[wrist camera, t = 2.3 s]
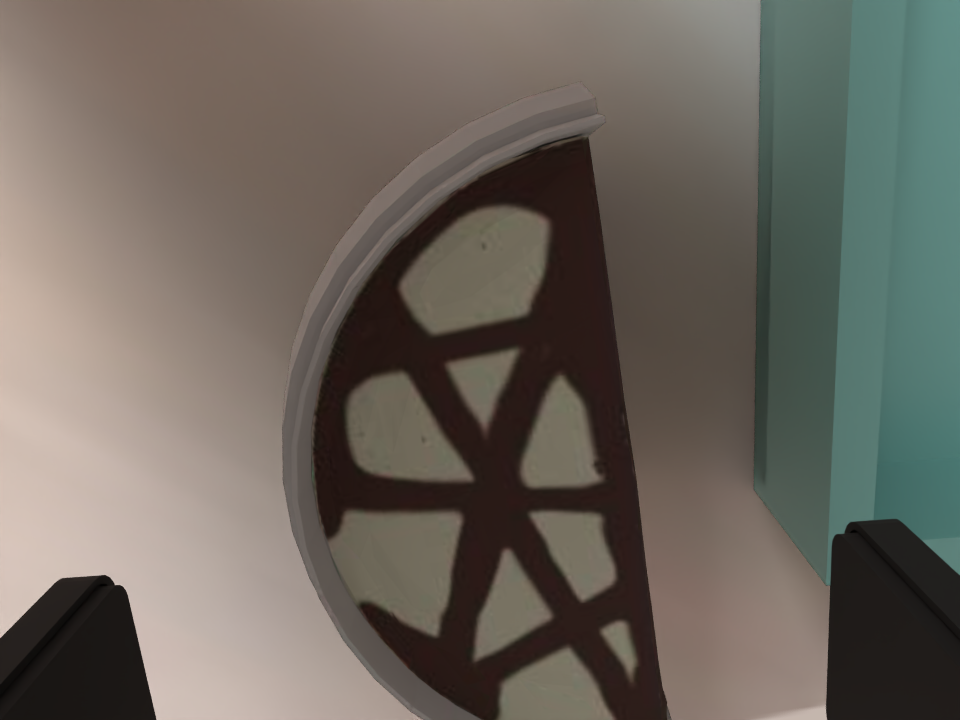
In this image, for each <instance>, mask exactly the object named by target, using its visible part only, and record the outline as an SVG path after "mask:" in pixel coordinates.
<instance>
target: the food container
mask: <svg viewBox="0 0 960 720" xmlns="http://www.w3.org/2000/svg"><path fill="white" fill-rule="evenodd" d="M605 122H606V120H605V116H604V115H600V114H597V105H596V98H595V96H594V95H593V94H592V93H591V92H590V91H589V90H588V89H587V88H586V87H585V86H584V85H583V84H582V83H581V82H577V83H573V84H570V85H566V86H563V87H559V88H556V89H552V90H549V91H545V92H542V93H538V94H535V95H531V96H528V97H524V98H522V99H520V100H517V101H515V102H513V103H511V104H509V105H507V106H504V107H502V108H500V109H498V110H496V111H493V112H491V113H489V114H487V115H485V116H483V117H480V118H478V119H476V120H474V121H472V122H470V123H467V124H466V125H464V126H463V127H461V128H460V129H458V130H457V131H455V132H454V133H452V134H451V135H449V136H448V137H446V138H445V139H443V140H442V141H440V142H439V143H437V144H436V145H434V146H433V147H431V148H430V149H428V150H427V151H425V152H424V153H422V154H421V155H419V156H418V157H416V158H415V159H414V160H413V161H412V162H411V163H410V164H409V165H408V166H406V167H405V168H404V169H403V170H402V171H401V172H400V173H399V174H398V175H397V176H396V177H395V178H394V179H393V180H392V181H390V182H389V183H388V184H387V185H386V186H385V187H384V188H383V189H382V190H381V191H380V192H379V193H378V194H377V195H375V196H374V197H373V198H372V199H371V201H370V202H369V203H368V204H367V206H366V207H365V208H364V210H363V211H362V212H361V214H360V215H359V216H358V217H357V219H356V220H355V221H354V223H353V224H352V225H351V227H350V228H349V229H348V230H347V232H346V233H345V234H344V236H343V237H342V238H341V240H340V241H339V242H338V243H337V245H336V246H335V248H334V250H333V252H332V254H331V256H330V258H329V259H328V261H327V263H326V265H325V267H324V269H323V271H322V273H321V274H320V276H319V278H318V280H317V282H316V284H315V286H314V287H313V289H312V291H311V293H310V295H309V298H308V301H307V304H306V307H305V310H304V313H303V316H302V319H301V322H300V325H299V328H298V331H297V334H296V337H295V340H294V343H293V346H292V351H291V357H290V364H289V370H288V377H287V383H286V389H285V396H284V409H283V425H282V439H283V484H284V489H285V495H286V500H287V505H288V511H289V516H290V522H291V527H292V532H293V535H294V537H295V540H296V543H297V546H298V548H299V551H300V554H301V557H302V559H303V562H304V565H305V568H306V570H307V573H308V576H309V579H310V580H311V582H312V584H313V586H314V587H315V589H316V591H317V594H318V597H319V599H320V600H321V602H322V604H323V606H324V607H325V609H326V611H327V613H328V614H329V616H330V618H331V620H332V621H333V623H334V625H335V627H336V628H337V630H338V632H339V634H340V635H341V637H342V639H343V641H344V642H345V643H346V644H347V646H348V647H349V648H350V649H351V651H352V652H353V653H354V654H355V655H356V657H357V658H358V659H359V660H360V662H361V663H362V664H363V665H364V667H365V668H366V669H367V670H368V671H369V673H370V674H371V675H372V676H373V678H374V679H375V680H376V681H377V682H379V683H380V684H381V685H382V686H383V687H384V688H385V689H386V690H387V691H389V692H390V693H391V694H392V695H393V696H394V697H395V698H396V699H397V700H399V701H400V702H401V703H402V704H403V705H404V706H405V707H406V708H407V709H408V710H410V711H411V712H412V713H414V714H415V715H417V716H418V717H420V718H421V719H423V720H671V717H670V713H669V710H668V707H667V701H666V698H665V694H664V691H663V688H662V682H661V676H660V669H659V663H658V655H657V647H656V639H655V631H654V622H653V614H652V606H651V599H650V591H649V584H648V576H647V569H646V561H645V552H644V543H643V535H642V526H641V517H640V508H639V499H638V490H637V481H636V474H635V467H634V461H633V454H632V448H631V441H630V434H629V428H628V421H627V415H626V408H625V402H624V394H623V387H622V379H621V372H620V364H619V356H618V349H617V341H616V333H615V326H614V318H613V311H612V303H611V296H610V288H609V281H608V274H607V266H606V259H605V251H604V244H603V236H602V229H601V221H600V214H599V207H598V201H597V194H596V187H595V180H594V173H593V166H592V160H591V153H590V146H589V139H588V136H589V135H591V134H592V133H593V132H594V131H595V130H597V129H598V128H599V127H600V126H602V125H603V124H604V123H605Z"/></svg>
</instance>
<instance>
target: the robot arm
mask: <svg viewBox="0 0 960 720" xmlns="http://www.w3.org/2000/svg"><path fill="white" fill-rule="evenodd" d="M826 713H827V720H960V575H959V574H958V573H957V572H956V571H955V570H953V569H952V568H951V567H950V566H949V565H948V564H947V563H946V562H945V561H944V560H943V559H942V558H940V557H939V556H938V555H937V554H936V553H935V552H934V551H933V550H932V549H931V548H930V547H929V546H927V545H926V544H925V543H924V542H923V541H922V540H921V539H920V538H919V537H918V536H917V535H916V534H914V533H913V532H912V531H911V530H910V529H909V528H908V527H907V526H906V525H905V524H904V523H903V522H901V521H900V520H898V519H882V520H868V521H854V522H850V523H849V524H848V525H847V526H846V529H845V533H844V534H836V535H835V536H834V538H833V540H832V551H831V581H830V610H829V639H828V669H827V698H826ZM0 720H156V716H155V712H154V707H153V703H152V699H151V694H150V690H149V686H148V681H147V677H146V673H145V668H144V664H143V660H142V655H141V651H140V647H139V642H138V638H137V634H136V629H135V625H134V621H133V616H132V612H131V608H130V603H129V599H128V595H127V592H126V590H125V589H124V587H122V586H121V585H115V584H114V582H113V581H112V580H111V578H110V577H108V576H106V575H101V576H87V577H73V578H62V579H60V580H58V581H57V582H56V583H55V584H54V585H53V586H52V587H51V588H50V589H49V590H48V591H47V592H46V593H45V594H44V595H43V596H42V597H41V598H40V599H39V600H38V601H37V602H36V603H35V604H34V605H33V606H32V607H31V608H30V609H29V610H28V611H27V612H26V613H25V614H24V615H23V616H22V617H21V618H20V619H19V620H18V621H17V622H16V623H15V624H14V625H13V626H12V627H11V628H10V629H9V630H8V631H7V632H6V633H5V634H4V635H3V636H2V637H1V638H0Z"/></svg>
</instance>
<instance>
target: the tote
mask: <svg viewBox="0 0 960 720" xmlns="http://www.w3.org/2000/svg"><path fill="white" fill-rule="evenodd" d="M754 490H755V492H756V493H757V494H758V496H759V497H760V498H761V500H762V501H763V502H764V504H765V505H766V506H767V508H768V509H769V510H770V512H771V513H772V514H773V516H774V517H775V518H776V520H777V521H778V522H779V524H780V525H781V526H782V528H783V529H784V530H785V532H786V533H787V534H788V536H789V537H790V538H791V540H792V541H793V542H794V544H795V545H796V546H797V548H798V549H799V550H800V552H801V553H802V554H803V556H804V557H805V558H806V560H807V561H808V562H809V564H810V565H811V566H812V568H813V569H814V570H815V572H816V573H817V574H818V576H819V577H820V578H821V580H822V581H823V582H824V584H825V585H826V586H827V585H830V581H831V551H832V540H833V538H834V536H835V535H836V534H844V533H845V529H846V526H847V525H848V524H849V523H850V522H854V521H868V520H882V519H898V520H900V521H901V522H903V523H904V524H905V525H906V526H907V527H908V528H909V529H910V530H911V531H912V532H913V533H914V534H916V535H917V536H918V537H919V538H920V539H921V540H922V541H923V542H924V543H925V544H926V545H927V546H929V547H930V548H931V549H932V550H933V551H934V552H935V553H936V554H937V555H938V556H939V557H940V558H942V559H943V560H944V561H945V562H946V563H947V564H948V565H949V566H950V567H951V568H952V569H953V570H955V571H956V572H957V573H958V574H959V575H960V0H761V35H760V103H759V171H758V239H757V308H756V376H755V444H754Z"/></svg>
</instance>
